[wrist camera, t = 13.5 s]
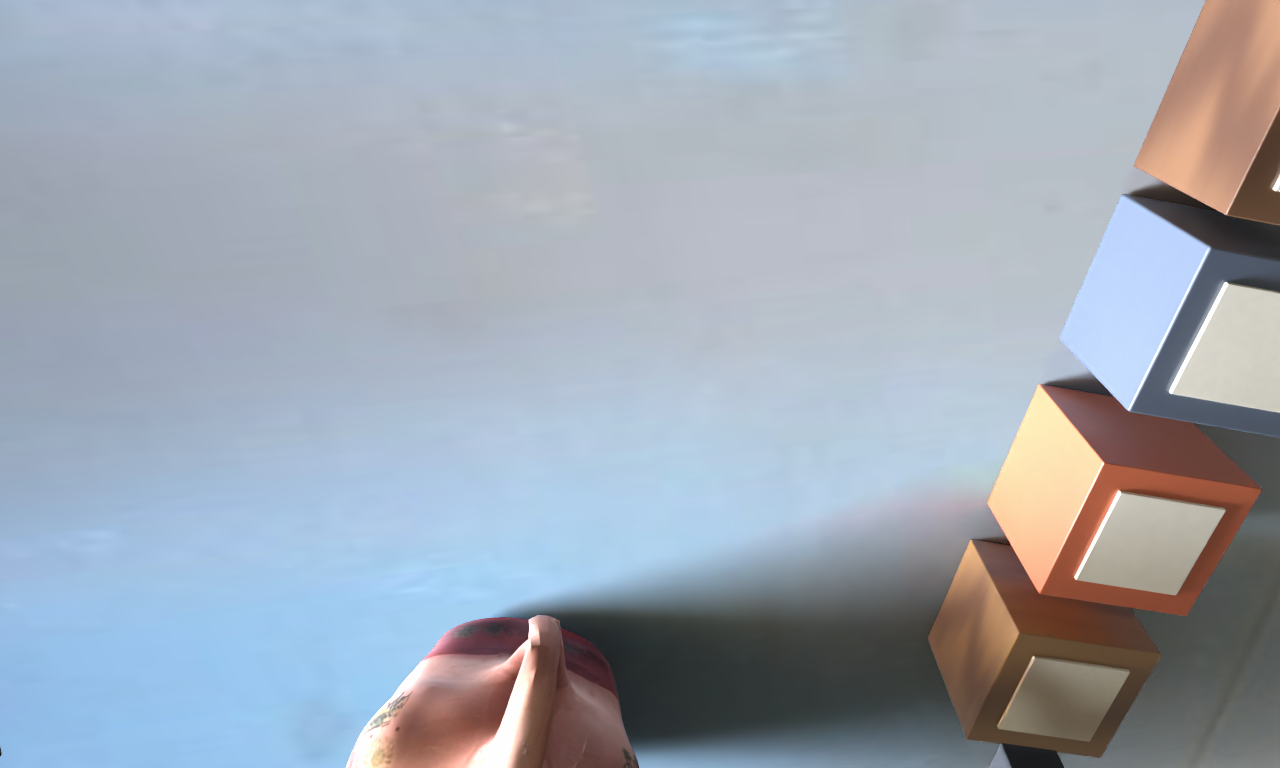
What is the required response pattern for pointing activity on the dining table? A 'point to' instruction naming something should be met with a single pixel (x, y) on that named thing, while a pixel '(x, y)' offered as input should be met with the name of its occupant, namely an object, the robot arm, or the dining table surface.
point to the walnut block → (1224, 113)
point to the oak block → (1036, 658)
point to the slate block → (1184, 315)
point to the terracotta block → (1117, 502)
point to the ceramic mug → (502, 704)
